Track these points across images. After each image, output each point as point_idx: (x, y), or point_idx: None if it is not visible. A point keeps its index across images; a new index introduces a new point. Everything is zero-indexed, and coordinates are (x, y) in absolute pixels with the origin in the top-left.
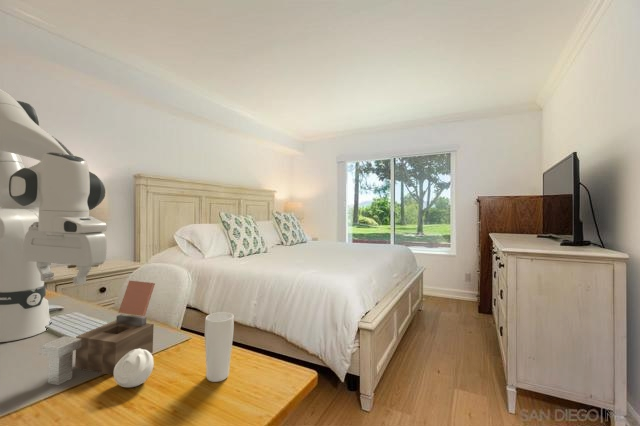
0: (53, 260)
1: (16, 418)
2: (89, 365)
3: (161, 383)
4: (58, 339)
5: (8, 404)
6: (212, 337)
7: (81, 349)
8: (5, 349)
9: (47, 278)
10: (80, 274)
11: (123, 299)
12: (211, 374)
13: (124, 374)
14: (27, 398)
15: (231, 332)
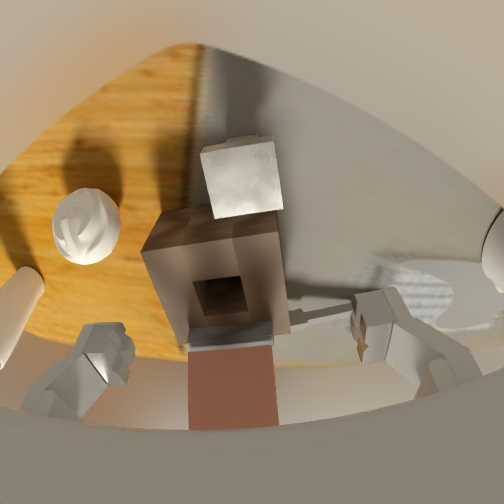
0: (230, 453)
1: (171, 49)
2: None
3: None
4: (273, 188)
5: (240, 60)
6: None
7: (256, 217)
8: (482, 190)
9: (356, 313)
10: (53, 370)
11: (272, 381)
12: (18, 272)
13: (75, 201)
14: (229, 86)
15: None
